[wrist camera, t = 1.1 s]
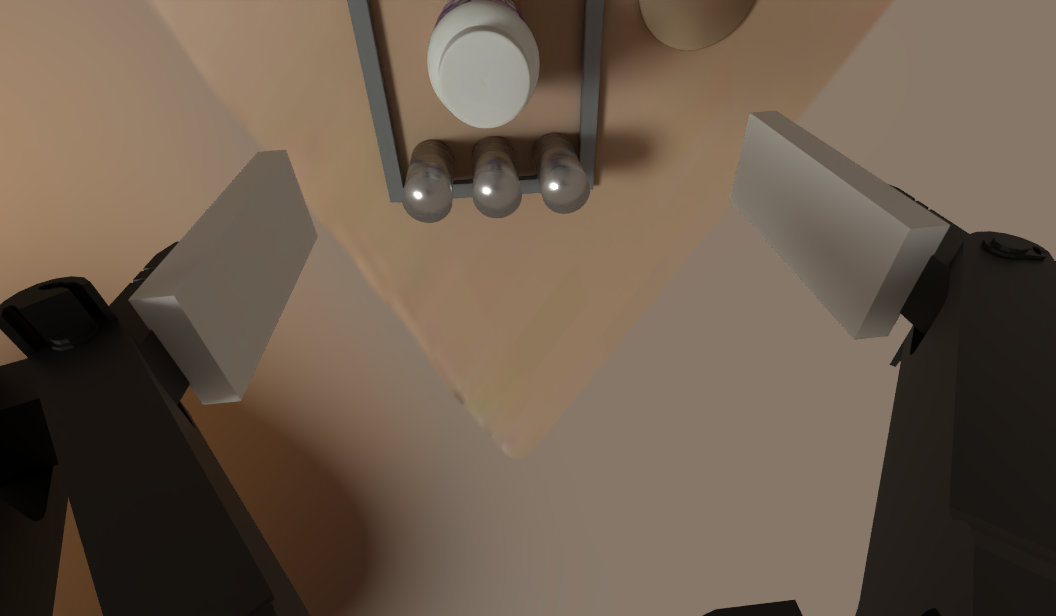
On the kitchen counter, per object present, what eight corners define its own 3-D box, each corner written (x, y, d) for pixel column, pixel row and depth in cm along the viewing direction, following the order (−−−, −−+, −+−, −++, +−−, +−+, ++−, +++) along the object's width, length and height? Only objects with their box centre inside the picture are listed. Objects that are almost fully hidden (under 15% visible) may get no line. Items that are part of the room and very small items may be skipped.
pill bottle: (512, -29, 27) (530, -10, 19) (537, 72, 30) (561, 123, 22) (419, 3, 27) (400, 35, 20) (454, 100, 31) (449, 158, 23)
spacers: (355, -156, 23) (326, -176, 18) (583, -161, 24) (611, -181, 19) (415, 181, 34) (406, 224, 29) (572, 172, 34) (588, 211, 29)
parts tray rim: (309, -189, 22) (306, -191, 22) (613, -194, 23) (616, -196, 23) (391, 198, 34) (390, 202, 34) (591, 185, 35) (592, 189, 34)
